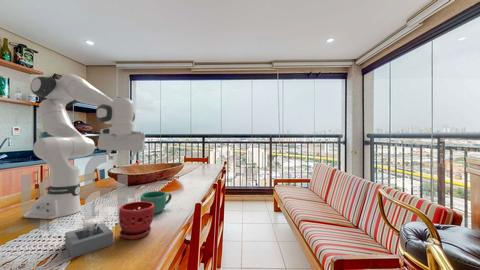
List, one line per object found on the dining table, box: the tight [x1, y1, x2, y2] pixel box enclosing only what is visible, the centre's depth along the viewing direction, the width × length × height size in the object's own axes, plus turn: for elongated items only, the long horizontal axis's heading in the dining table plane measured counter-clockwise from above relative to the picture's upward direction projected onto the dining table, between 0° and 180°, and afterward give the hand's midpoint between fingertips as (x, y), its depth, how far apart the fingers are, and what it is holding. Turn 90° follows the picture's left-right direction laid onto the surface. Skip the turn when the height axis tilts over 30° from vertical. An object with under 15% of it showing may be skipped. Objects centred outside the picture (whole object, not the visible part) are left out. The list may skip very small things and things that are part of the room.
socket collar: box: [64, 222, 114, 259], centre depth 76 cm, size 12×12×4 cm
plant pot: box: [118, 201, 155, 240], centre depth 85 cm, size 13×13×12 cm
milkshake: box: [81, 217, 99, 238], centre depth 76 cm, size 4×5×10 cm
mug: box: [140, 190, 172, 215], centre depth 111 cm, size 17×13×10 cm
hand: (121, 159), depth 98 cm, fingers open, 8 cm apart
